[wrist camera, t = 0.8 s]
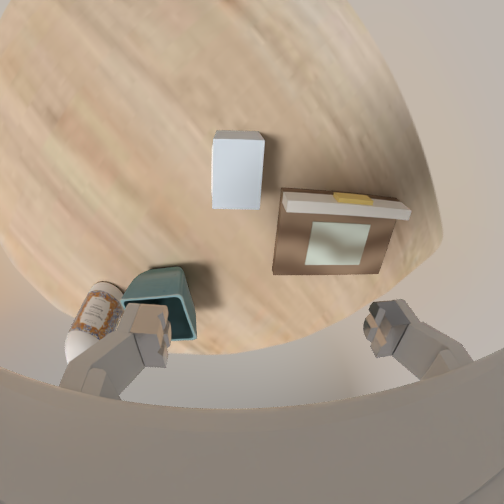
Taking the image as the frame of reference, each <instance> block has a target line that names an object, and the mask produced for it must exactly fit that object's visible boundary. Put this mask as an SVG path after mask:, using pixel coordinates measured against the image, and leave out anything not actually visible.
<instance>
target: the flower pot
mask: <svg viewBox="0 0 504 504" xmlns="http://www.w3.org/2000/svg"><path fill="white" fill-rule="evenodd" d="M120 302H121V305H122V306H123V309H124V310H125V308H126V306H127V305H128V304H129V303H137V304H153V305H166V306H167V309H168V313H169V314H168V318H167V320H168V321H169V322H170V324H171V341H180V340H194V339H197V331H196V313H195V308H194V304H193V301H192V297H191V294H190V291H189V288H188V284H187V281H186V278H185V274H184V271H183V269H182V268H180V267H169V268H160V269H151V270H148V271H145V272H143V273H141V274H140V275H138V276H137V277H136V278H135V279H134V280H133V281H132V282H131V284H130V285H129V287H128V288H127V290H126V292H125V293H124V295H123V296H122V298H121V300H120Z"/></svg>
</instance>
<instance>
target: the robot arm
mask: <svg viewBox="0 0 504 504" xmlns="http://www.w3.org/2000/svg"><path fill="white" fill-rule="evenodd" d="M369 311H370V314H369V315H368V316H367V317H366V318H365V321H364V328H363V329H364V334H365V336H366V339H367V340H369V341H370V342H372V343H371V346H370V347H371V349H372V351H373V353H374V355H375V357H376V358H378V357H385V356H391V355H393V357H394V358H395V359H396V360H397V361H398V362H400V363H401V364H402V365H403V366H405V367H406V368H407V369H408V370H409V371H410V372H411V373H413V374H414V375H415V376H416V377H418V378H419V379H420V381H418V382H415V383H412V384H408V385H404V386H401V387H397V388H393V389H389V390H385V391H381V392H377V393H372V394H368V395H363V396H358V397H353V398H347V399H341V400H335V401H329V402H322V403H314V404H306V405H297V406H286V407H273V408H253V409H203V408H202V409H201V408H183V407H170V406H159V405H150V404H142V403H134V402H127V401H122V400H121V399H120V397H119V395H120V394H121V392H122V391H123V390H124V389H125V388H126V387H127V386H128V385H129V384H130V383H131V382H132V381H133V380H134V379H135V378H136V376H137V375H138V374H139V373H140V372H141V371H142V370H143V369H144V367H161V368H166V364H167V359H168V351H167V348H168V347H169V346H170V343H171V324H170V322H169V321H168V320H167V318H168V314H169V313H168V309H167V306H166V305H153V304H137V303H129V304H128V305H127V306H126V308H125V311H124V313H123V315H122V318H121V320H120V322H119V325H118V327H117V330H116V332H115V331H112V332H111V333H109V334H108V335H106V336H105V337H104V338H102V339H101V340H99V341H98V342H97V343H95V344H94V345H92V346H91V347H90V348H88V349H87V350H85V351H84V352H83V353H81V354H80V355H78V356H77V357H76V358H74V359H73V360H71V361H70V362H69V364H68V366H67V368H66V370H65V373H64V375H63V377H62V380H61V382H60V385H59V387H58V386H54V385H51V384H48V383H44V382H41V381H37V380H35V379H32V378H29V377H26V376H23V375H20V374H17V373H15V372H12V371H10V370H7V369H5V368H2V367H0V504H504V348H503V349H501V350H498V351H496V352H494V353H492V354H490V355H488V356H486V357H483V358H481V359H479V360H477V361H473V360H472V358H471V357H470V355H469V354H468V352H467V351H466V350H465V348H464V347H463V345H462V344H460V343H459V342H457V341H455V340H454V339H452V338H450V337H449V336H447V335H445V334H443V333H441V332H440V331H438V330H436V329H435V328H433V327H431V326H429V325H427V324H426V323H424V322H420V321H419V319H418V318H417V316H416V315H415V314H414V312H413V311H412V310H411V308H410V307H409V306H408V304H407V303H406V302H405V300H403V299H397V300H392V301H379V302H373V303H372V304H371V305H370V308H369Z"/></svg>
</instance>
